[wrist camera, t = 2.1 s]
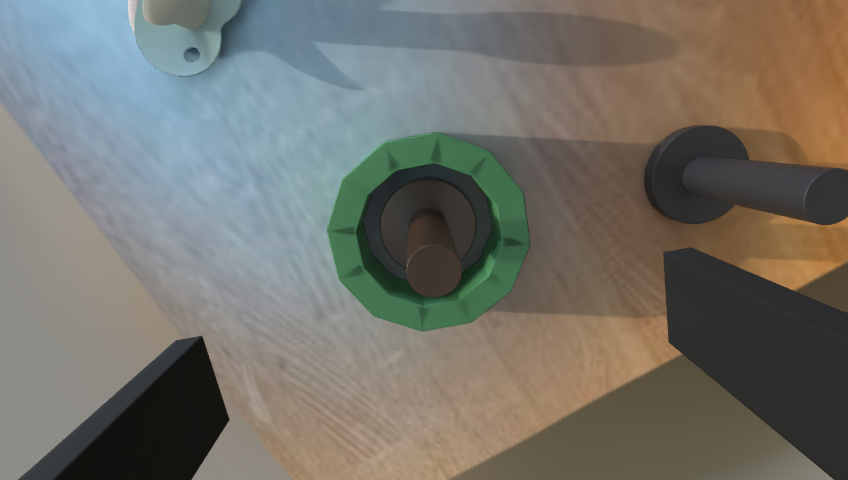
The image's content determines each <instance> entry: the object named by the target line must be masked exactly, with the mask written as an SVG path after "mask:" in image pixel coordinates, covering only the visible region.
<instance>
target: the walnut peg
mask: <svg viewBox="0 0 848 480" xmlns="http://www.w3.org/2000/svg"><path fill="white" fill-rule="evenodd" d="M380 234H381V239H382V242H383V245H384V247H385V249H386V250H387V252H388V254H389V255H390V256H391V257H392V258H393V259H394V260H395V261H396V262H397V263H398V264H399V265H401V266H402V267H404V268H406V274H407V279H408V282H409V284H410V285H411V287H412V288H413V289H414V290H415V291H416V292H418V293H419V294H421V295H423V296H426V297H432V298H436V297H441V296H444V295H447V294H449V293H450V292H452V291H453V290H454V289H455V288H456V287H457V285H458V284H459V282H460V279H461V276H462V265H461V262H460V261H461V260H462V259H463V258H464V257H465V256H466V254H467V253H468V252H469V250H470V248H471V246H472V244H473V242H474V238H475V234H476V218H475V214H474V211H473V208H472V206H471V204H470V202H469V201H468V199H467V198H466V196H465V195H464V194H463V193H462V192H461V191H460V190H459V189H458V188H457V187H455V186H454V185H452V184H451V183H449V182H446V181H444V180H441V179H437V178H419V179H415V180H412V181H409V182H407V183H405V184H403V185H402V186H400V187H399V188H398V189H396V190H395V191H394V192H393V193H392V195H391V196H390V197H389V199H388V200H387V202H386V204H385V206H384V209H383V211H382V215H381V219H380Z"/></svg>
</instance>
